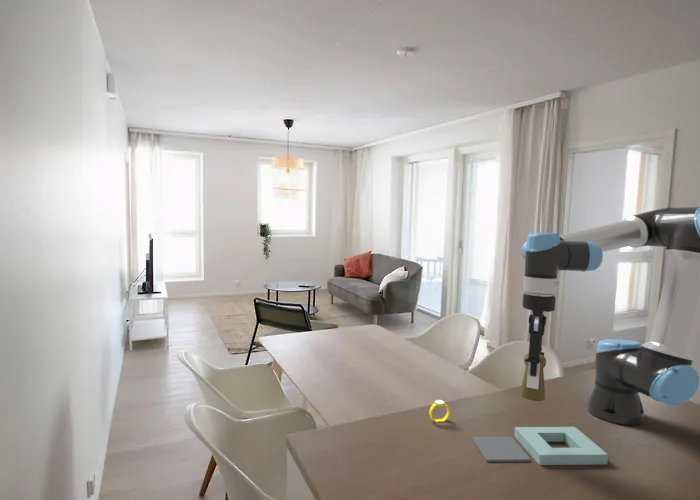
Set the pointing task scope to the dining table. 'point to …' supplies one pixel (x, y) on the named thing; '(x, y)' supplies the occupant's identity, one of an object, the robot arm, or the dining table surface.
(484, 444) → the rubber mat
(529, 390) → the cork
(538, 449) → the socket board
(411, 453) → the dining table surface
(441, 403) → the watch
